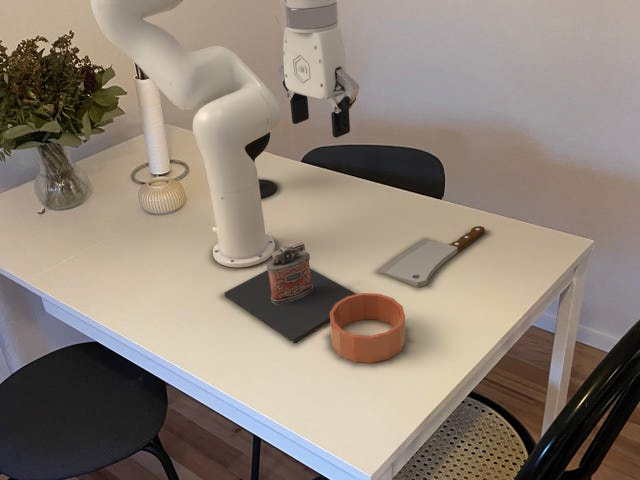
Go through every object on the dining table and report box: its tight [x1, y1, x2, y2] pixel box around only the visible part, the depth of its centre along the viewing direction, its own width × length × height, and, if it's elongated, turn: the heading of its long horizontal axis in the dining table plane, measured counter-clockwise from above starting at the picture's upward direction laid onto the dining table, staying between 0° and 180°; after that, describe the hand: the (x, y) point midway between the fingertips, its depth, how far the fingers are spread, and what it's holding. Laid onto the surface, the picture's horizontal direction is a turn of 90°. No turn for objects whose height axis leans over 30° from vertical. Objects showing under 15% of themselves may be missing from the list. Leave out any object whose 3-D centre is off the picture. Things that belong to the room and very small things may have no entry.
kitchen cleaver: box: [379, 225, 486, 288], centre depth 129 cm, size 24×1×10 cm
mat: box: [224, 268, 357, 344], centre depth 120 cm, size 20×16×1 cm
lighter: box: [266, 241, 313, 305], centre depth 117 cm, size 8×3×10 cm, turn 117°
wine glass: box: [245, 132, 278, 200], centre depth 154 cm, size 10×10×20 cm
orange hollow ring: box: [329, 292, 406, 364], centre depth 108 cm, size 12×12×5 cm
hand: (320, 127), depth 107 cm, fingers open, 9 cm apart
